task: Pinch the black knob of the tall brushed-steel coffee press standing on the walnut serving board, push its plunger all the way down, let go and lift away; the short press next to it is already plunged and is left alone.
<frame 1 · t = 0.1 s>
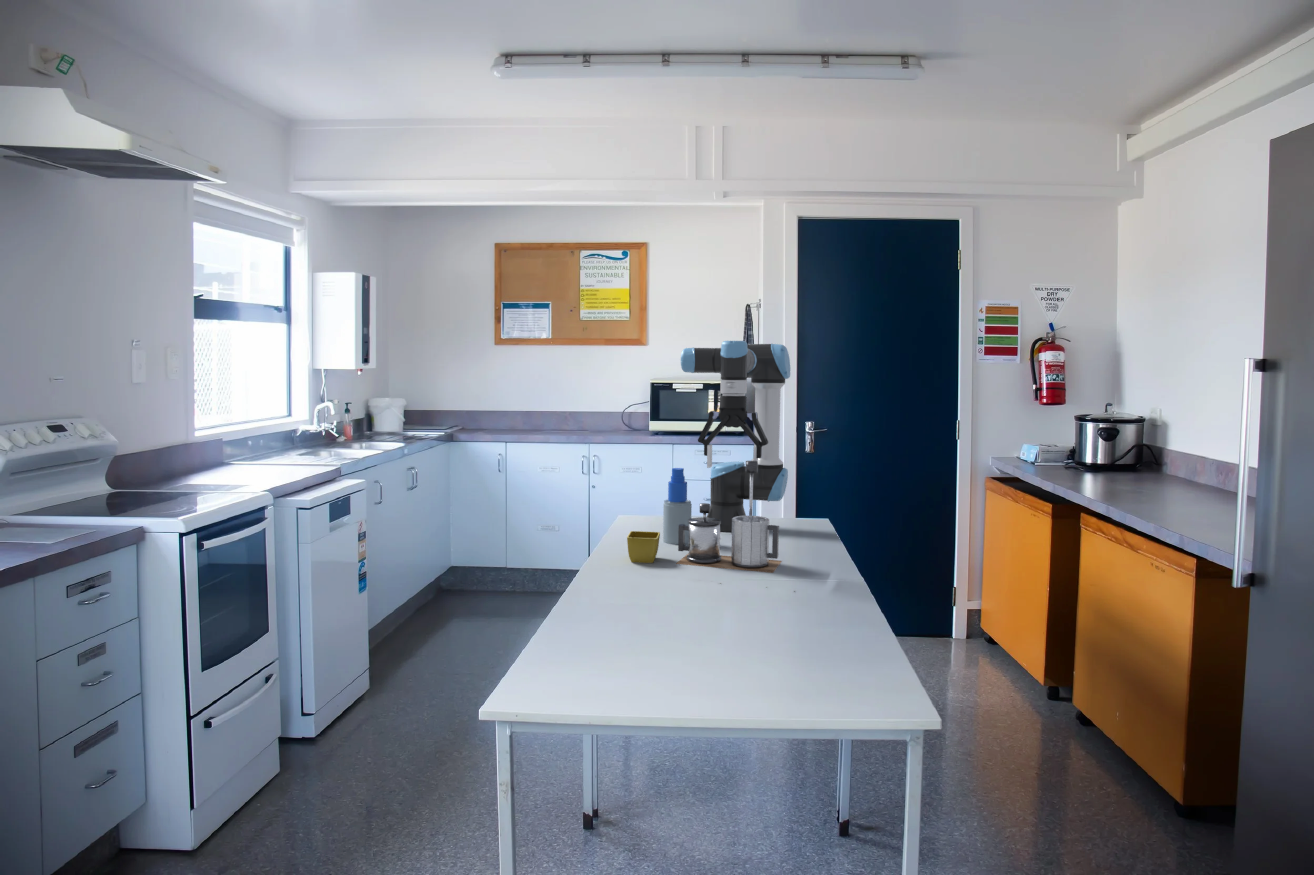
hand: (732, 468, 233), 28 cm above the table, fingers open, 13 cm apart
flower pot: (643, 565, 234), on the table
short press: (704, 559, 234), resting on serving board
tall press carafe: (749, 564, 230), resting on serving board
plunger: (751, 494, 228), point 22 cm above the table, slide at 0.0 cm
serving board: (729, 567, 232), on the table
spray bottle: (677, 546, 258), on the table
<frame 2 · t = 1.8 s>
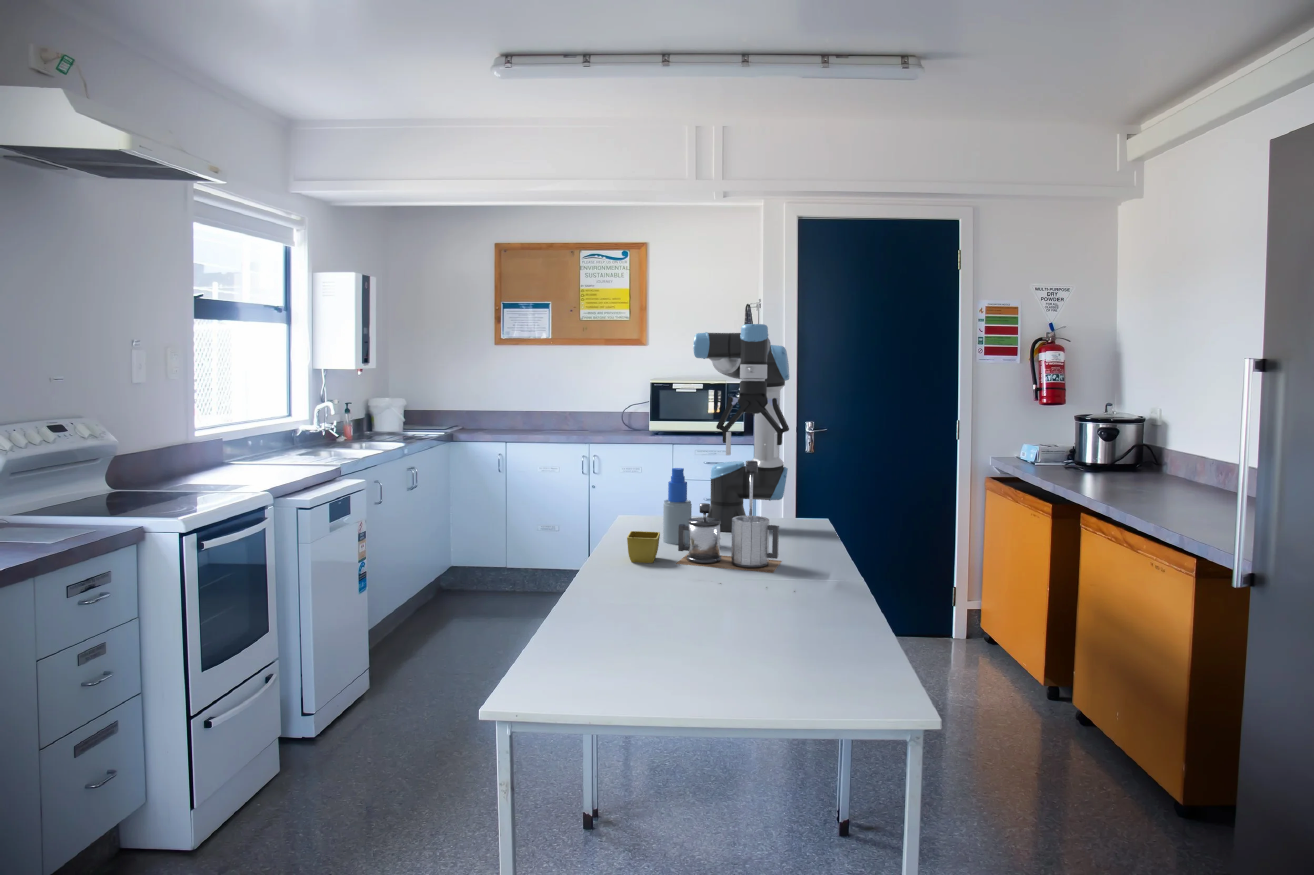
hand: (751, 456, 227), 33 cm above the table, fingers open, 13 cm apart
nothing on the table moved.
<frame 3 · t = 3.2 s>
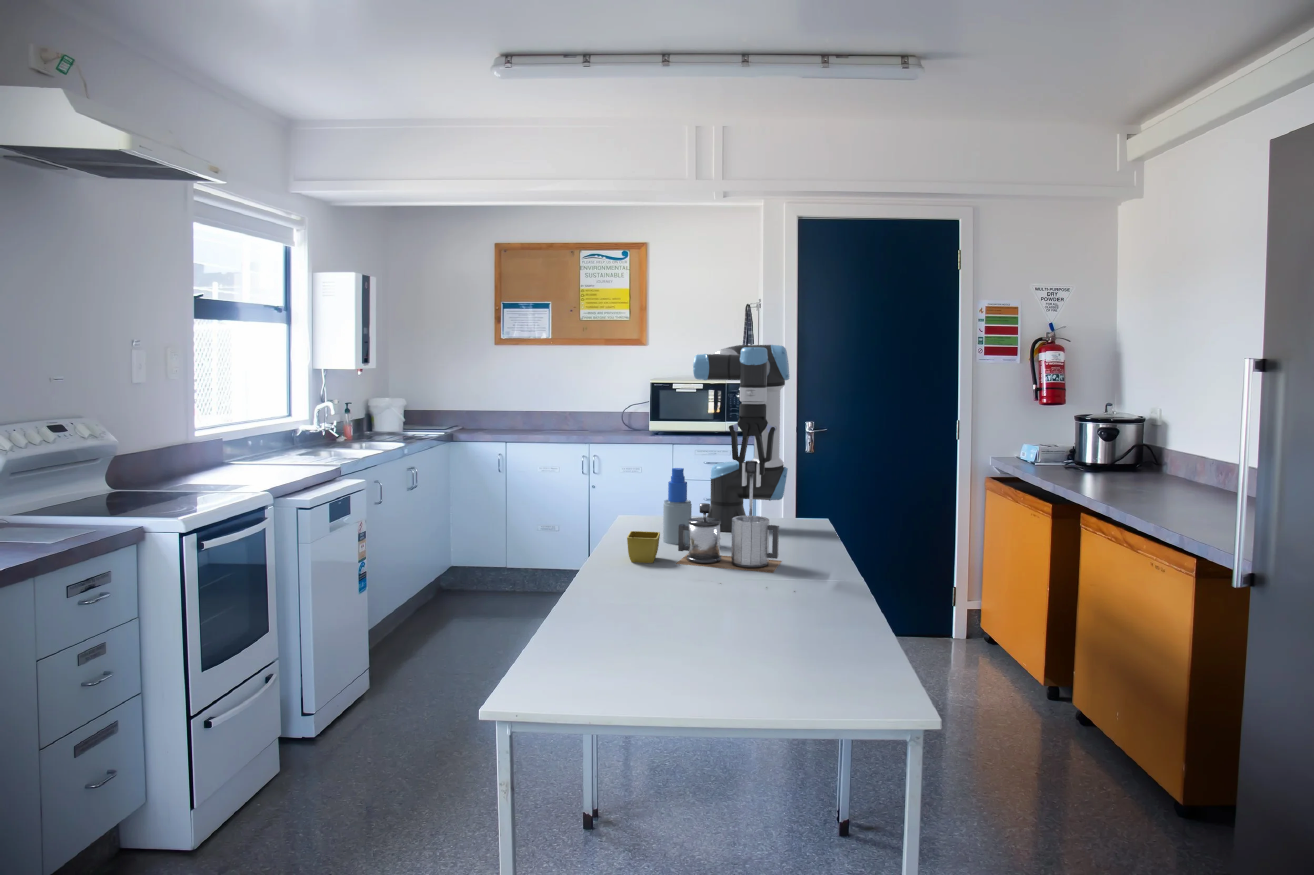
hand: (751, 485, 228), 24 cm above the table, fingers closed on plunger, 3 cm apart
plunger: (751, 494, 228), point 22 cm above the table, slide at 0.0 cm, touching gripper
everything else where it was.
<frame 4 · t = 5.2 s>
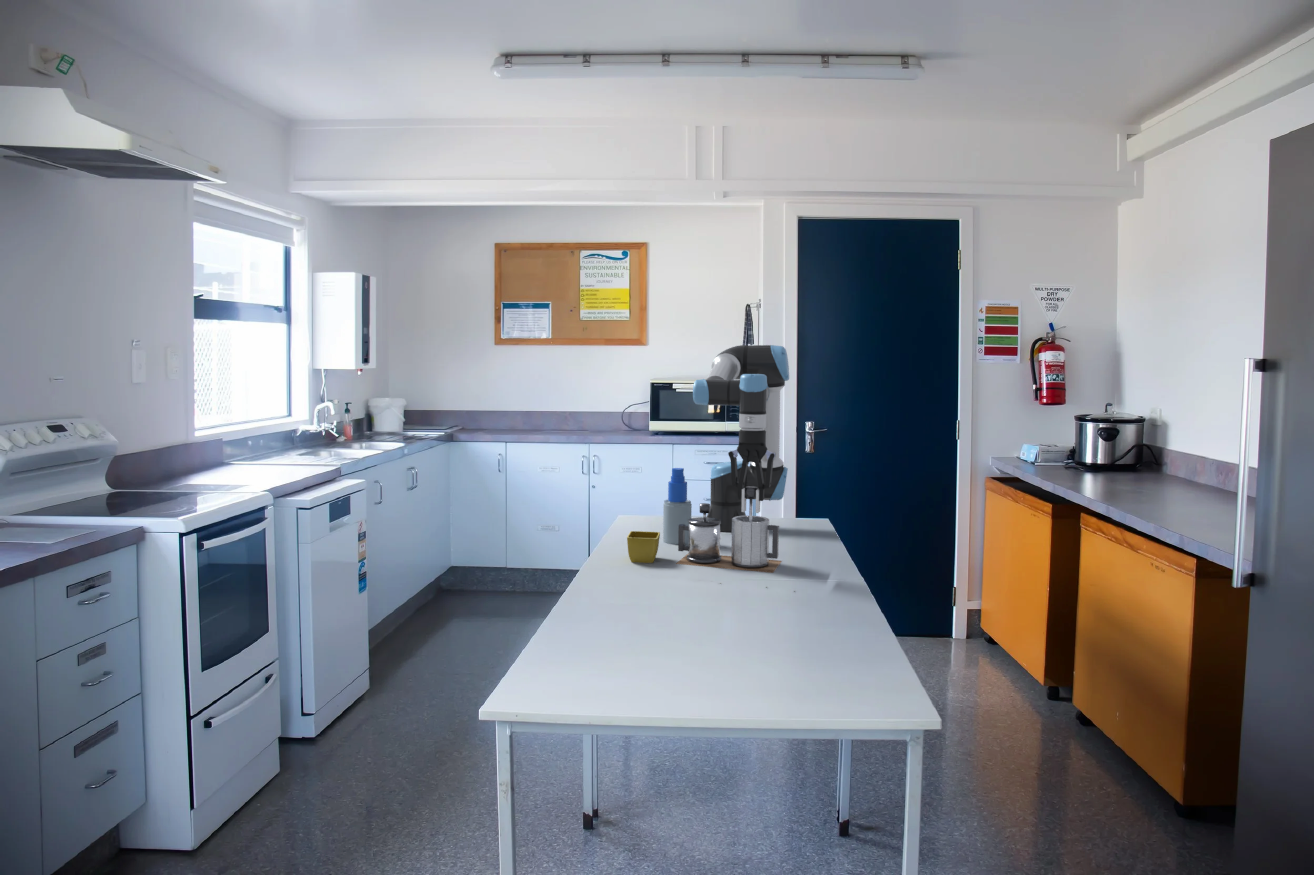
hand: (750, 511, 228), 17 cm above the table, fingers closed on plunger, 3 cm apart
plunger: (750, 520, 229), point 14 cm above the table, slide at 7.4 cm, touching gripper
everything else where it was.
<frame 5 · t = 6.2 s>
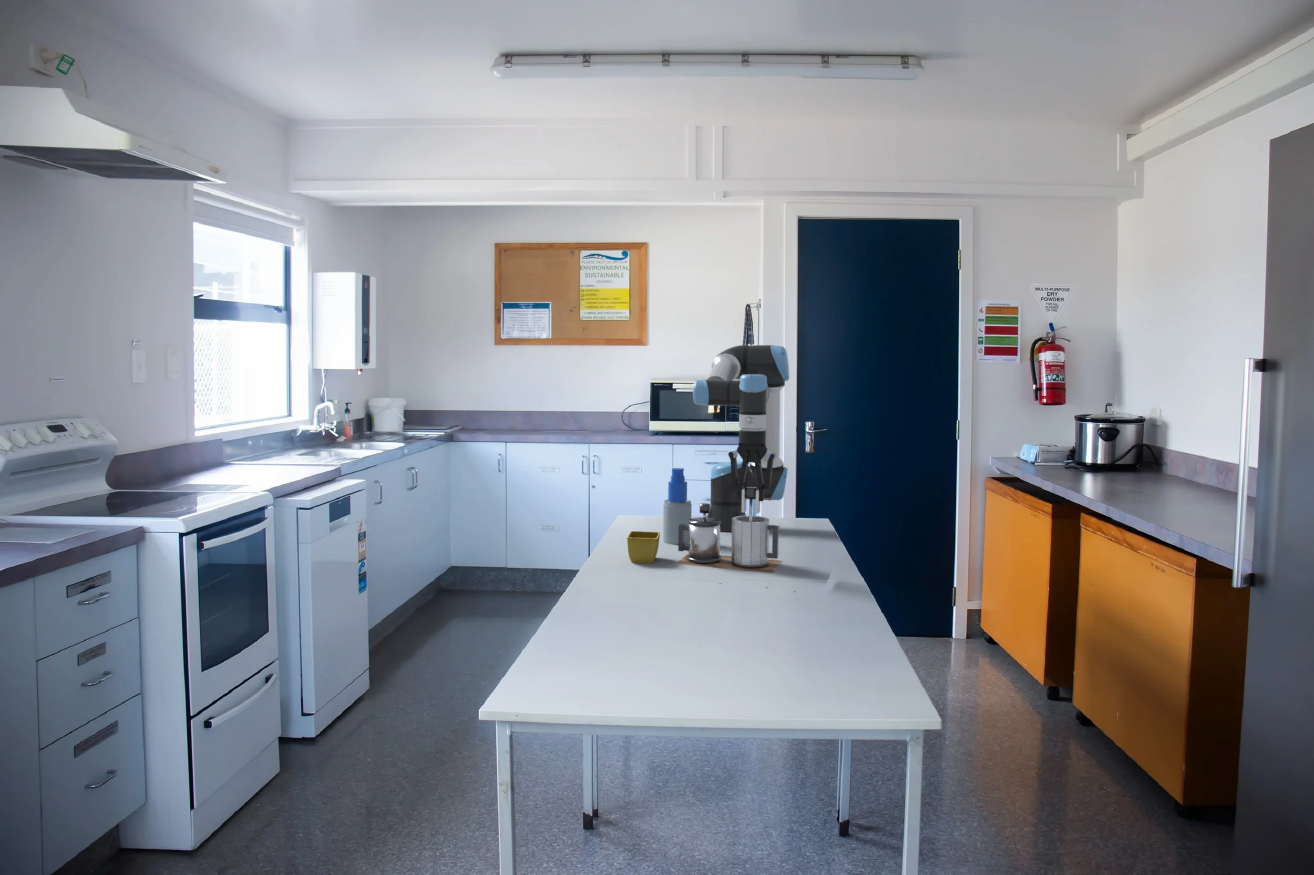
hand: (750, 511, 228), 17 cm above the table, fingers closed on plunger, 3 cm apart
plunger: (750, 520, 229), point 14 cm above the table, slide at 7.5 cm, touching gripper
everything else where it was.
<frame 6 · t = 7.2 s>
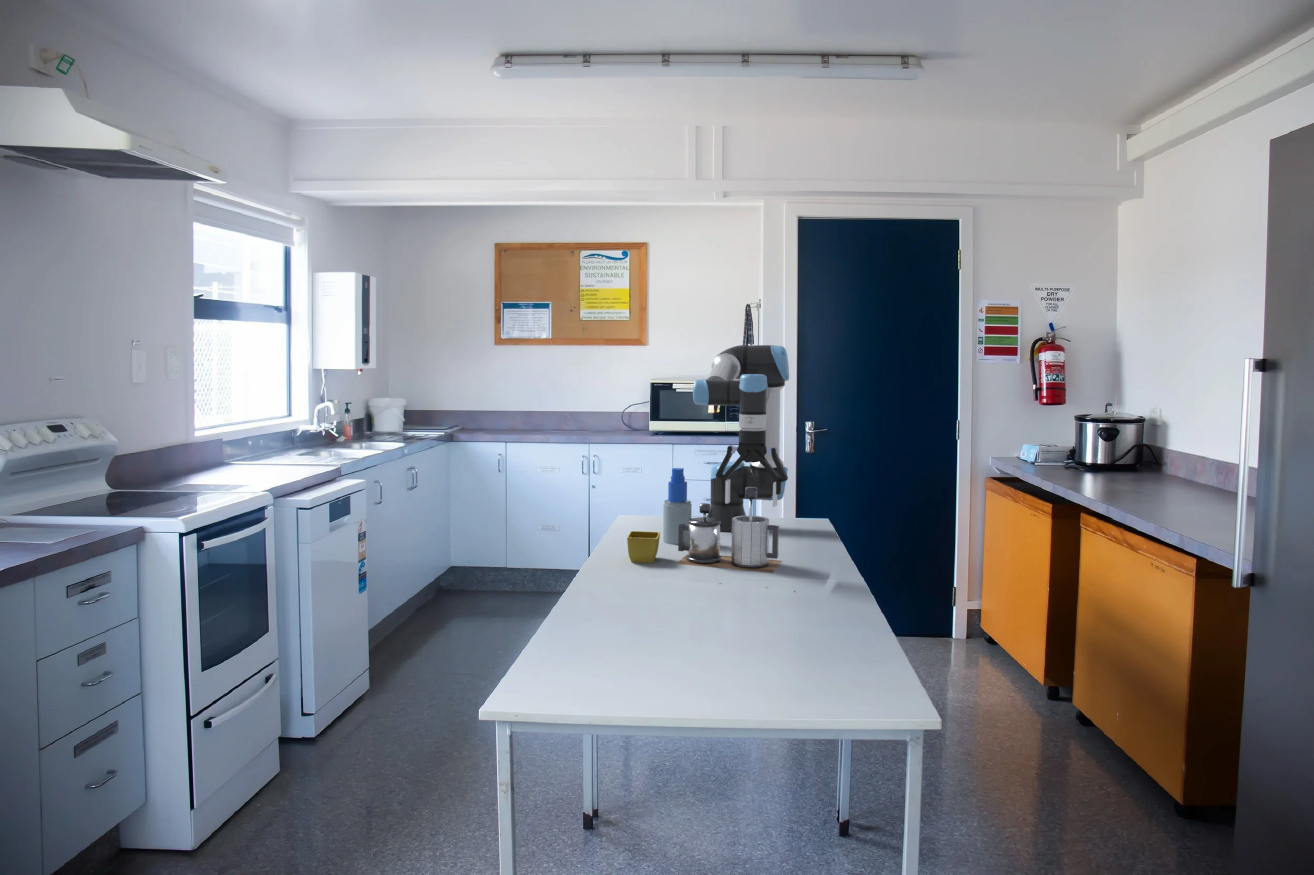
hand: (751, 504, 228), 19 cm above the table, fingers open, 13 cm apart
plunger: (750, 520, 229), point 14 cm above the table, slide at 7.5 cm
everything else where it was.
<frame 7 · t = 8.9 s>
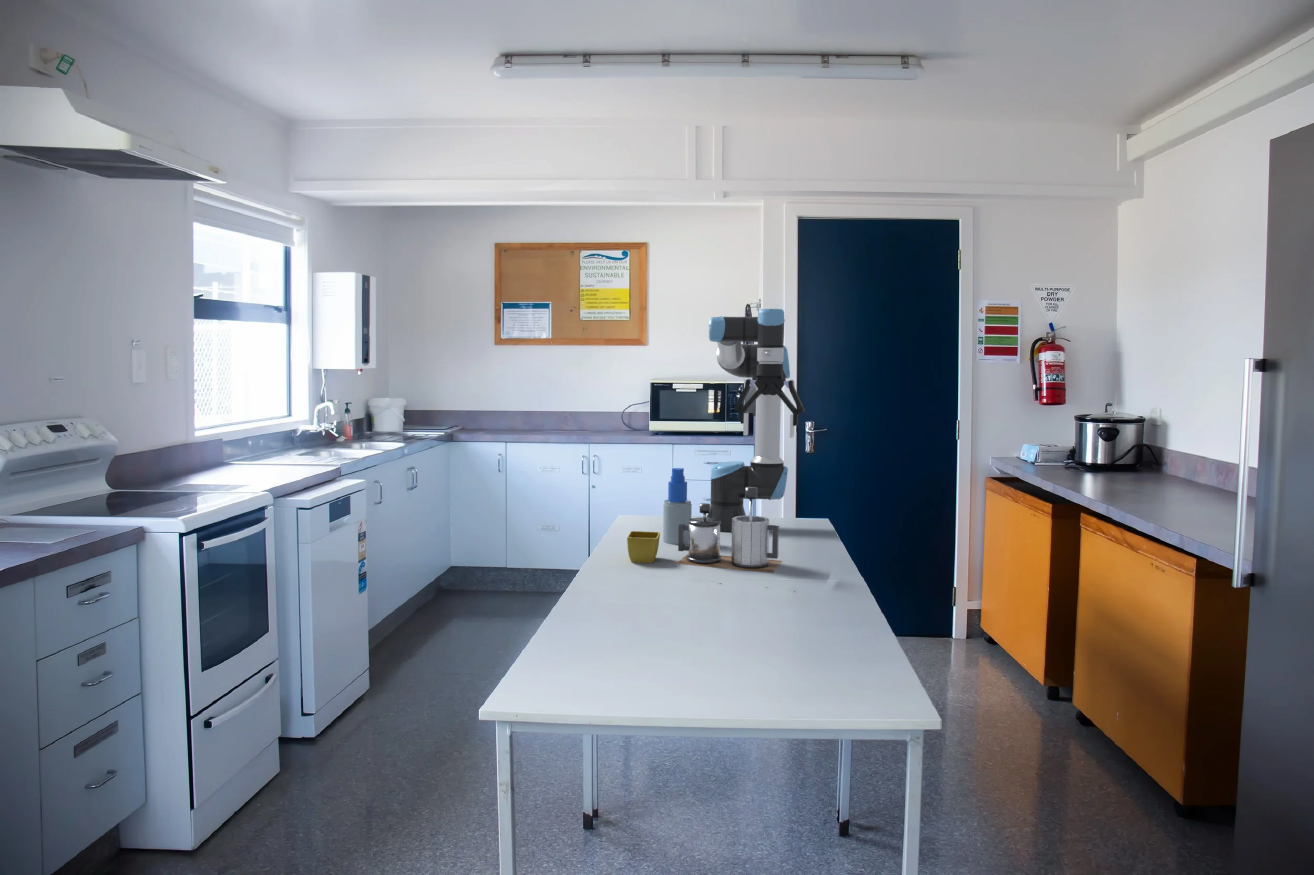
hand: (768, 436, 235), 37 cm above the table, fingers open, 13 cm apart
nothing on the table moved.
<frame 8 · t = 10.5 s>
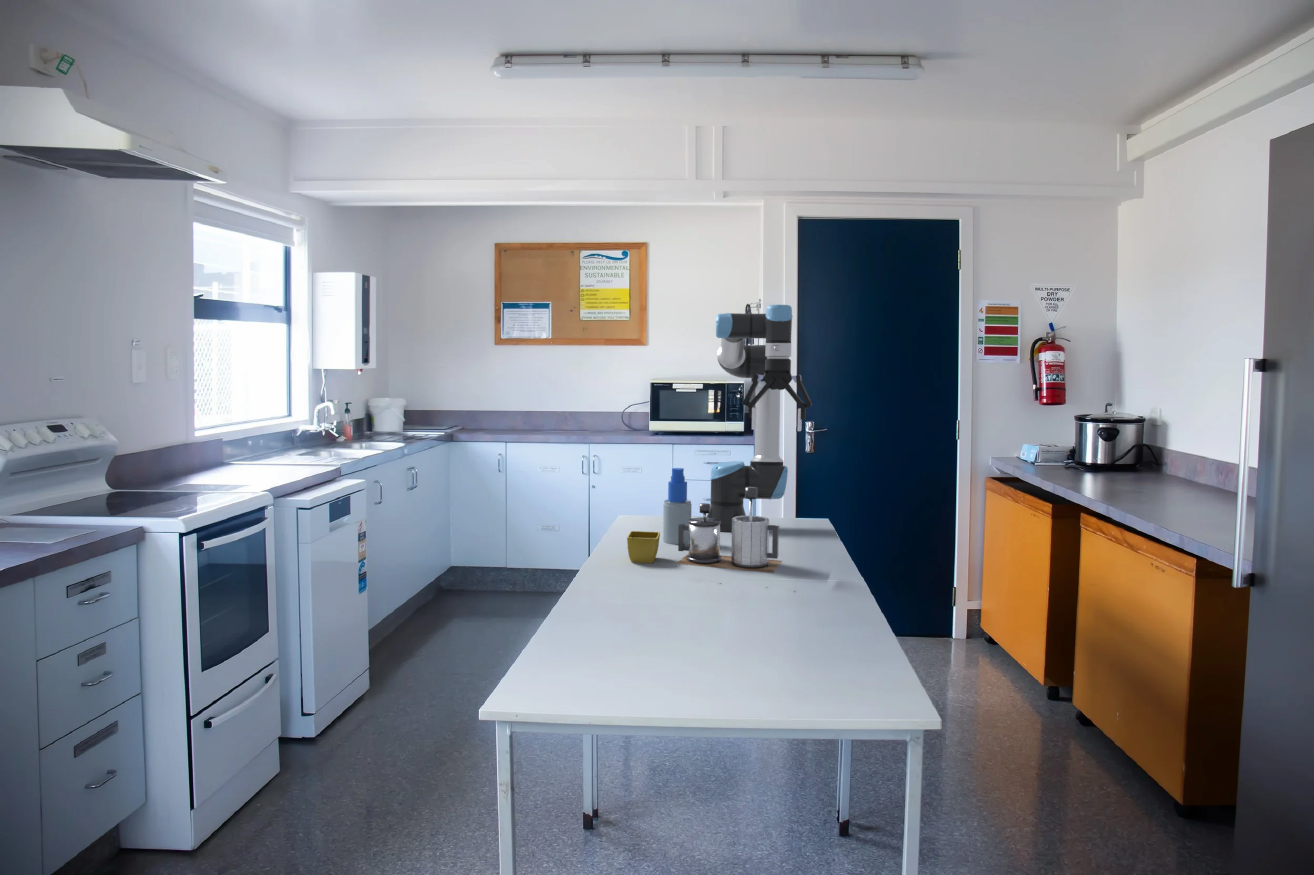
hand: (776, 430, 239), 39 cm above the table, fingers open, 13 cm apart
nothing on the table moved.
at the end: plunger slide at 7.5 cm; the gripper is holding nothing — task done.
